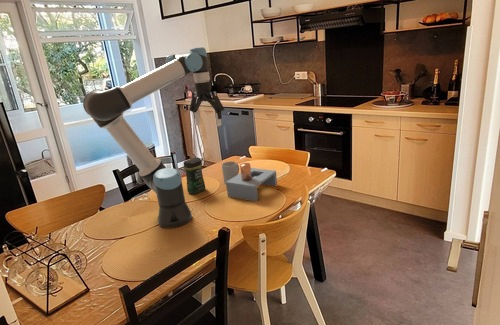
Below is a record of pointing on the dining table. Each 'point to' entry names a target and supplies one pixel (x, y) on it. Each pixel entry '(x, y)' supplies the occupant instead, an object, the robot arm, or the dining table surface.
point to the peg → (245, 171)
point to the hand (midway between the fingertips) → (208, 125)
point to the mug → (229, 170)
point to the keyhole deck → (250, 184)
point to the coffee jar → (194, 175)
